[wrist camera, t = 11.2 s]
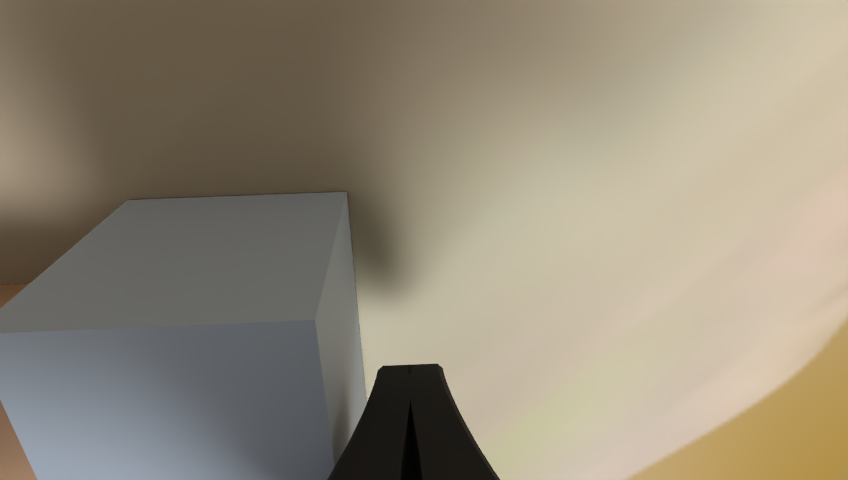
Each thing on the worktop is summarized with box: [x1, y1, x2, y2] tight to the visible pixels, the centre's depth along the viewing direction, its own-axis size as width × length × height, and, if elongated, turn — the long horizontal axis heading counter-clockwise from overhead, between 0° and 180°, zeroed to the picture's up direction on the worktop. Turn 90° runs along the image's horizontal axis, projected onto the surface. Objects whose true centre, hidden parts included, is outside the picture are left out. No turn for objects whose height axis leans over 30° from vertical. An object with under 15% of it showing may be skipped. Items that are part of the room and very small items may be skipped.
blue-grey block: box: [0, 192, 367, 480], centre depth 12 cm, size 7×5×5 cm
